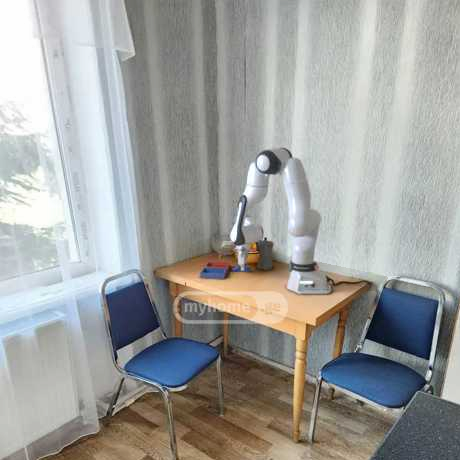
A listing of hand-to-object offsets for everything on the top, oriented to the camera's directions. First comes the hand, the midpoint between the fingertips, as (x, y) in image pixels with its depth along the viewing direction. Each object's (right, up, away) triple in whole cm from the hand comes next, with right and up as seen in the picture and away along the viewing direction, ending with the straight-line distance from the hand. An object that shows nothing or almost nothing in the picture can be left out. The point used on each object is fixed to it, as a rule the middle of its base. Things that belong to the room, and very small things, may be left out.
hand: (243, 267), depth 226 cm
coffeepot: (+12, +1, +7) cm, 14 cm away
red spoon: (-15, 0, +4) cm, 16 cm away
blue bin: (-17, -5, -6) cm, 19 cm away
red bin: (-15, 0, +4) cm, 15 cm away
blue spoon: (-2, -1, +1) cm, 3 cm away
